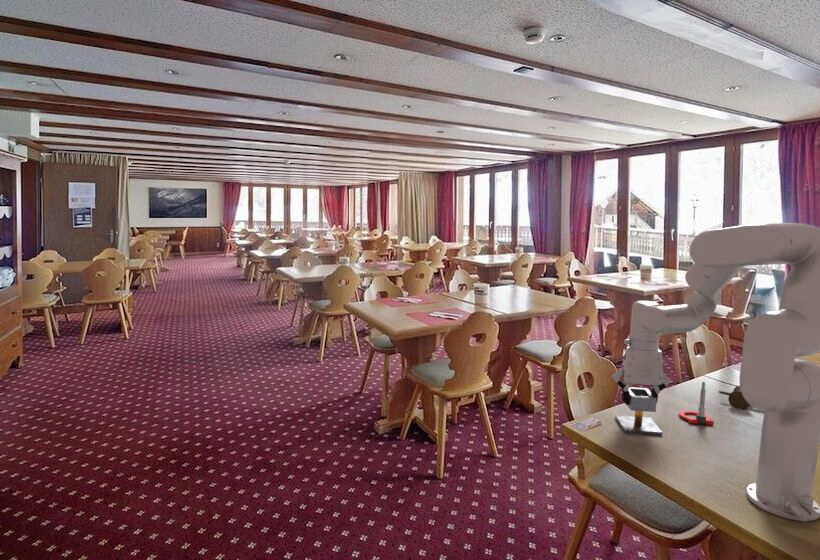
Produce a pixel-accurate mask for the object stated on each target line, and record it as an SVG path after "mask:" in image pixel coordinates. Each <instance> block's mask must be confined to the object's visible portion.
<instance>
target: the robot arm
mask: <svg viewBox="0 0 820 560" xmlns="http://www.w3.org/2000/svg"><path fill="white" fill-rule="evenodd" d="M689 255H690V259H691V260H692V261H693V264H692V266H690V268H689V269H688V270H687V271H686V273H685V275H684V279H685V282H686V283H687V285H688V287H689V288H690V289H692V290H693V293H692V294H691V295H690V297H689V298H687V300H685V301H684V303H682V304H673V305H672V304H671V305H661V304H660V303H659V302H656V301H652V300H636V301H634V302H633V304H632V305H631V316H630V328H629V329H630V331H629V337H628V338H627V339H624V341H623V343H624V344H625V345H628V346H626V348H625V352H624V355H623V360H622V365H621V366H622V367H621V369H619V370H617V371H615V372H614V373H613V374H612V375H611V378H612V379H613V380H614V381H615V383H616V384H617V385H618V387H620V389H621V400H622V402H623V403H624V404H625V405H626V406H627V405H628V404H629V394H630V392H629V391H628V389H629V388H630V387H632V385H637V386H638V385H639V386H650V387H651V389H650V392H651V393H652V394H653V395H654V396H655V397H656V398H657V402H658V401H659V400H658V399H659V394H660V393H661V391H663V389H665V388H666V386H668V385H669V384H670V383H671V382H672V379H671V378H670V377H668V375H666V373H664V366H663V365H664V362H663V361H664V360H663V353H662V350H661V349H660V347H659V344H660V335H672V334H674V335H675V334H682V333H690V332H693V331H695V330H697V329H698V328H700V327H701V326H702V325H703V324H705V322H706V321H707V320H708V319H709V318H710V317H711V316H712V315H714V312H715V311H716V309H717V306H718V303H719V294H720V292H721V291H722V290H723V289H724V288H725V287H726V286H727V285H728V284H729V283H730V282H731V281H732V280H733V279H734V278H735V277H736V276H737V275H738V273H740V271H741V270H743V269H744V267H745V266H765V265H766V266H767V265H768V266H769V265H770V266H771V265H786V264H787V265H789V266H790V271H789V272H788V274H787V276H786V278H785V279H784V282H783V284H782V286H781V292H780V294H781V295H780V302H779V305H778V306H779V307H778V309H777V310H772V311H771V310H770V311H765V312H762V313H760V314H758V315H756V316H754V318H753V319H752V320H751V321H750V322H749V324H748V325H747V327H746V329H745V331H744V332H745V333H744V335H743V336H744V338H743V344H742V354H741V360H740V361H741V362H740V369H739V370H740V371H739V386H740V389H741V392H742V395H743V397H744V398H745V400H746V401H747V402H748V403H749V404H750V406H751V407H752V408H754V409H755V410H758V411H761V412H764V415H763V418H762V419H763V420H762V425H761V427H762V428H761V432H760V441H759V442H760V443H759V450H758V451H759V452H758V459H757V460H758V462H757V471H756V479H755V482H753V483H751V484H748V485H747V486H746V488H745V489H746V492H745V494H746V496H747V499H749V501H751V503H753V504H754V505H756V506H757V507H758V508H759V509H762V510H763V511H766V512H768V513H770V514H773V515H775V516H778V517H781V518H784V519H787V520H792V521H798V522H811V521H816V520H817V519H819V518H820V506H819V504H818V503H817V502H816V501H815V499H814V496H813V492H814V487H815V477H816V471H817V470H816V469H817V463H818V462H817V461H818V455H819V446H820V365H818V364H817V363H816V362H813V361H810V360H806V359H799V358H800V357H807V356H813V355H816V354H819V353H820V228H819V227H817V226H815V225H811V224H808V223H807V224H806V223H798V222H779V223H778V222H776V223H775V222H770V223H769V222H764V223H763V222H762V223H751V224H744V225H736V226H729V227H724V228H716V229H708V230H704V231H702V232H700V233H699V234H697V236H695V237H694V238H693V240H692V241H691V244H690V246H689ZM797 358H798V359H797ZM620 378H622V379H624V380H623V381H621V379H620Z"/></svg>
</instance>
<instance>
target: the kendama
mask: <svg viewBox="0 0 820 560" xmlns="http://www.w3.org/2000/svg"><path fill="white" fill-rule="evenodd" d="M718 394H721V395H726V396H727V397H728V398H727V399H728V400H727V401H728V403H729V405H730V406H731V407H732V408H734V409H736V410H747V409H749V407H750V406H751V405H750V404H749V403H748V402H747V401H746V400H745V398H744V397H743V395H742V392H741V389H740V385H736V386H734V388H733V390H732V391H731V392H729V391H728V392H727V391H720V390H719V391H718Z"/></svg>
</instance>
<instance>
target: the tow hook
mask: <svg viewBox="0 0 820 560" xmlns="http://www.w3.org/2000/svg"><path fill="white" fill-rule="evenodd" d="M699 396H700V397H699V406H698V411H695V410H681V411H679V412H678V417H680V419H683V420H686V421H687V423H688V424H692V425H701V426H702V425H703V426H705V425H707V426H714V424H715V422H714V420H713V419H711V416H709V415H708V414H706V413H705V411H706V407H705V404H706V403H705V402H706V400H705V399H706V381H702V382H701V388H700V395H699ZM688 415H691V416H695V417H696V418H695V417H691V416H688Z"/></svg>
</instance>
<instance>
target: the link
mask: <svg viewBox="0 0 820 560" xmlns="http://www.w3.org/2000/svg"><path fill="white" fill-rule="evenodd" d="M628 391H629V392H630V394H629V404H628V405H626V406H627V407H628V408H629V410H630V411H634V412H635V411H643V412H647V413H649V412H650V413H651V412H652V413H656V412H657V404H658V401H657V398H656V397H655V396H654V395H653V394H652V393H651V392H650V391H651V389H649V388H648V387H635V386H633V387H632V386H630V388H629V389H628Z"/></svg>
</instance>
